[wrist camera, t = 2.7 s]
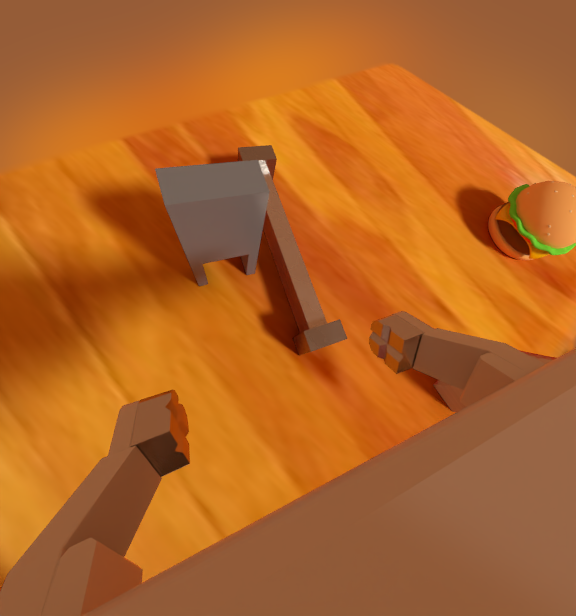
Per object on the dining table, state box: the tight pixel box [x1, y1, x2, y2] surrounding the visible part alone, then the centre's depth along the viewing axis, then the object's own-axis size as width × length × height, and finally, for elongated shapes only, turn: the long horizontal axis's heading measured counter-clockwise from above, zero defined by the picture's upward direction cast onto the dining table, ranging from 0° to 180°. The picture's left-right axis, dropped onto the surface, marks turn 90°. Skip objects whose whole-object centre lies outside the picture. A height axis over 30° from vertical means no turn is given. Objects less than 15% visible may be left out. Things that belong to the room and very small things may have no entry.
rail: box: [238, 145, 347, 355], centre depth 27 cm, size 24×4×4 cm, turn 19°
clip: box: [155, 160, 270, 286], centre depth 21 cm, size 6×3×13 cm, turn 109°
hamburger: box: [488, 181, 576, 260], centre depth 35 cm, size 12×12×9 cm
